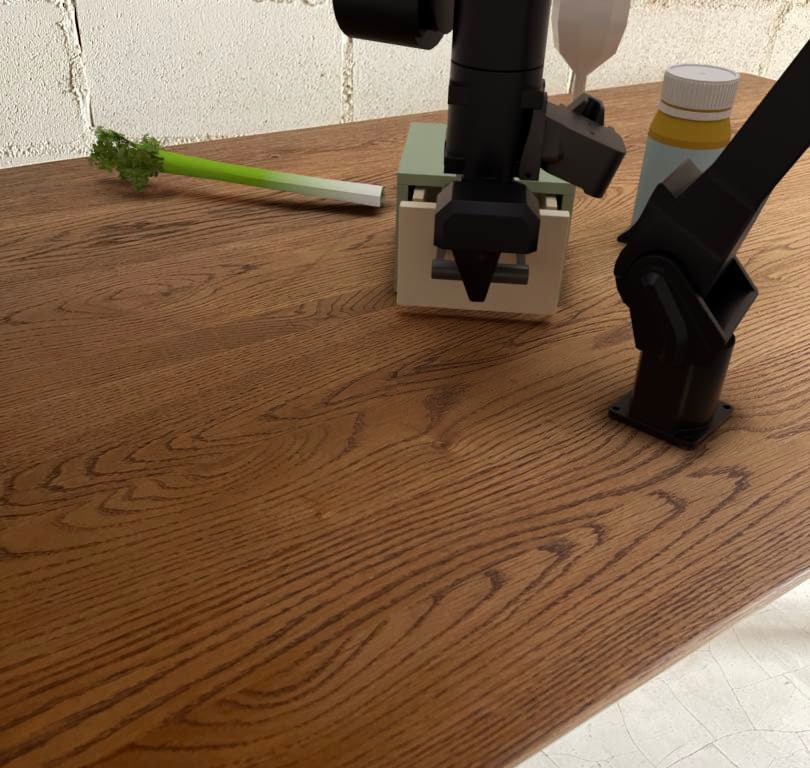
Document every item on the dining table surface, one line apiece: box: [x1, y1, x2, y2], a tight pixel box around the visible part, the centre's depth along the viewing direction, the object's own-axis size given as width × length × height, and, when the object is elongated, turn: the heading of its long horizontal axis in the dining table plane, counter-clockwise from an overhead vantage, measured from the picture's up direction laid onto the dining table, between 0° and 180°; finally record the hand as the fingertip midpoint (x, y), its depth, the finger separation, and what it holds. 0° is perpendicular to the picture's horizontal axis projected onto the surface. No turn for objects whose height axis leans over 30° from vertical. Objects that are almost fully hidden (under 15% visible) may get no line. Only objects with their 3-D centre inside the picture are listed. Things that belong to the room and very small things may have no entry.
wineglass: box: [550, 0, 632, 103], centre depth 105 cm, size 9×9×21 cm
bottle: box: [630, 63, 741, 225], centre depth 83 cm, size 7×7×15 cm
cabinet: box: [393, 121, 577, 304], centre depth 79 cm, size 14×14×10 cm
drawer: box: [396, 186, 570, 316], centre depth 74 cm, size 17×13×8 cm
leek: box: [84, 125, 386, 208], centre depth 92 cm, size 6×7×30 cm
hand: (477, 300), depth 67 cm, fingers closed
